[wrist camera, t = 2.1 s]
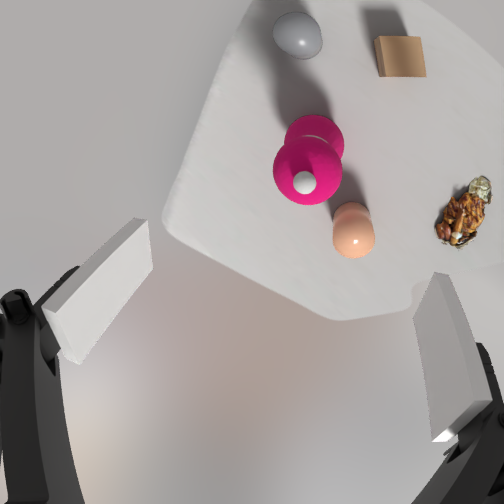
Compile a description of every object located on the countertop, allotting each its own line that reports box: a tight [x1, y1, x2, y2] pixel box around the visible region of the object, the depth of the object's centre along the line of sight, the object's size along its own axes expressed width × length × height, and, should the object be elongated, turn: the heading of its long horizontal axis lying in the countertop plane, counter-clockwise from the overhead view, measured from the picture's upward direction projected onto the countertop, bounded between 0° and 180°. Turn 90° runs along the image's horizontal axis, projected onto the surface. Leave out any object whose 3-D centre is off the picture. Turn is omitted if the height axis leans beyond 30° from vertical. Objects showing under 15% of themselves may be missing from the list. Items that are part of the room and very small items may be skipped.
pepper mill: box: [273, 115, 344, 205], centre depth 31 cm, size 7×7×20 cm
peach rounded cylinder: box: [333, 202, 375, 258], centre depth 42 cm, size 6×6×6 cm
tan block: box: [374, 36, 426, 77], centre depth 29 cm, size 5×5×5 cm
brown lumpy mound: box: [435, 176, 493, 251], centre depth 37 cm, size 7×12×4 cm, turn 163°
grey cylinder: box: [273, 12, 322, 59], centre depth 29 cm, size 5×5×8 cm
